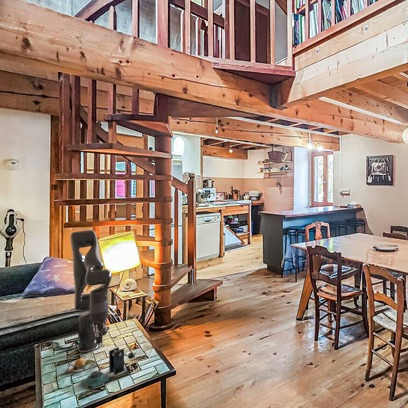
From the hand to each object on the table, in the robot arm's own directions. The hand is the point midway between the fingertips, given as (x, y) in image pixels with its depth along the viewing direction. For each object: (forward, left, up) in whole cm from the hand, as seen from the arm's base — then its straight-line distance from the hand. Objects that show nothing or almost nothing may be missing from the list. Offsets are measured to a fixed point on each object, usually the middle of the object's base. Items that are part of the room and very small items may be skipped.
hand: (99, 343), depth 158 cm
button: (+2, -3, -15) cm, 15 cm away
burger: (-18, +1, -19) cm, 26 cm away
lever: (+3, +9, -11) cm, 15 cm away
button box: (+2, -3, -18) cm, 19 cm away
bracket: (+3, +6, -18) cm, 20 cm away
